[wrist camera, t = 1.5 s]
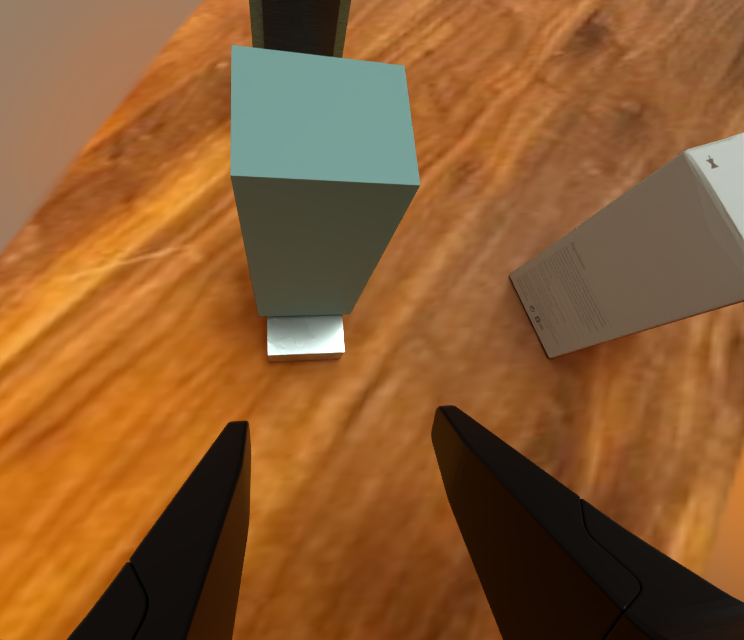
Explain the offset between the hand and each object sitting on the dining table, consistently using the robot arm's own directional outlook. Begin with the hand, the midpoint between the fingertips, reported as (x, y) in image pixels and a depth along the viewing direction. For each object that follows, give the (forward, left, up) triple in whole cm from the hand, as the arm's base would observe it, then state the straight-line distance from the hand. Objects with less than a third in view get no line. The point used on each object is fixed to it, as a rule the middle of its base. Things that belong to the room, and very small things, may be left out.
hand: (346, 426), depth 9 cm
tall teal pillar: (+7, +4, -11) cm, 14 cm away
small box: (+15, -13, -14) cm, 24 cm away
